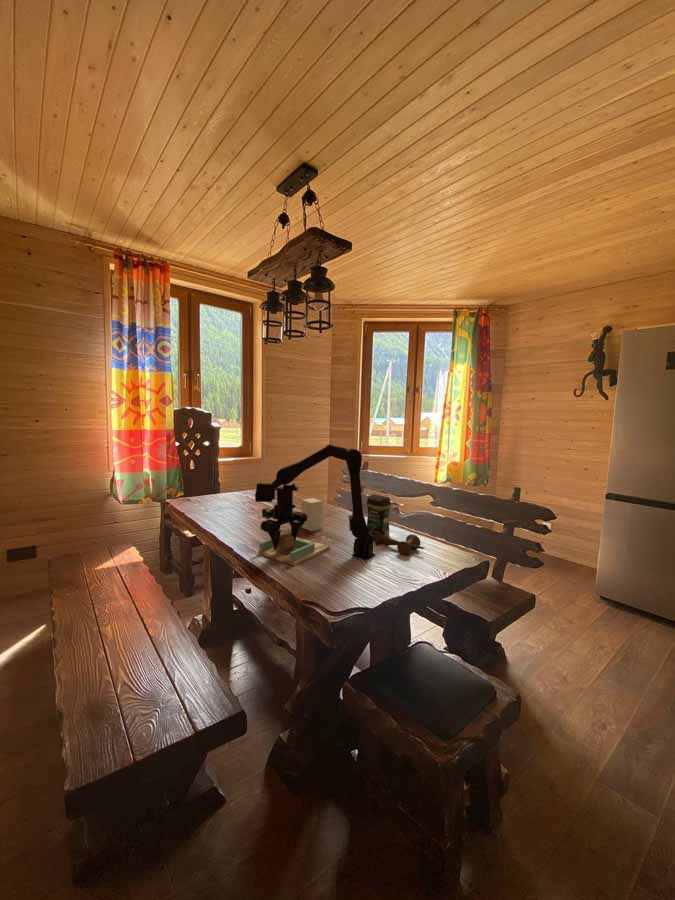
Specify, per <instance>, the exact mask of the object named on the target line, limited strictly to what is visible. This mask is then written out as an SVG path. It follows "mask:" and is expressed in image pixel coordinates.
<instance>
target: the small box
mask: <svg viewBox="0 0 675 900" xmlns="http://www.w3.org/2000/svg"><path fill="white" fill-rule="evenodd" d="M323 507H324V501H323V500H319V499H318V498H314V497H312V498H305V499H302V500H301V512H302V513H305V514H306V515H307V521H305V524H303V526H302V528H301V529H305V530H307V531H308V532H311V533H312V532H317V531H321V530H323V523H324V522H323V519H324V518H323V515H324V509H323Z"/></svg>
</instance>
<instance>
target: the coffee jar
mask: <svg viewBox="0 0 675 900" xmlns="http://www.w3.org/2000/svg"><path fill="white" fill-rule="evenodd" d="M366 507H367V521H366V525H367V528H368V529H369V530H370V531H371V533H372V536H373V538H374V539H373V540H374V541H373V542H375V537H376V535H377V534H378V533H381V534H382V535H384V536H388V535H389V536H390V517H389V516H390V508H391V499H390V497H388V496H385V495H379V494H371V495H370V494H369V495H368V496H367V500H366Z"/></svg>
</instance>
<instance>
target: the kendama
mask: <svg viewBox="0 0 675 900" xmlns="http://www.w3.org/2000/svg"><path fill="white" fill-rule="evenodd" d="M374 543H375V546H380V545H383V546H384V547H389V546H397V547H396V549H397V552H398V554H399V555H400V556H404V557H408V556H410V554H411V552H412V550H419V549H420V550H425V547H424V546H422V545H421V540H420V537H419V536H417V534H408V535H407V536H406V538H405V541H404V540H402V541H400V540H397V539H395V538H392V537H391V536H390V534H389V535H388V536H384V535H382V534H381V533H378V534H377V535H376V537H375V541H374Z"/></svg>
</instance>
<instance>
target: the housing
mask: <svg viewBox="0 0 675 900" xmlns="http://www.w3.org/2000/svg"><path fill="white" fill-rule="evenodd" d="M272 547H274V545H273V543H272V540H271V538H269V539H266V540H263V541H260V542H259V550H260V551H264V550H267V549H270V548H272ZM294 547H295V548H299V549H297V550H295V551H292V552H291V554H290V561H295V560H297V559H300V558H302V557H304V556H306V555H308V554H311V553H313V552H315V544H314V543H310V542H307V541H303V540H299V539H295V541H294Z"/></svg>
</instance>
